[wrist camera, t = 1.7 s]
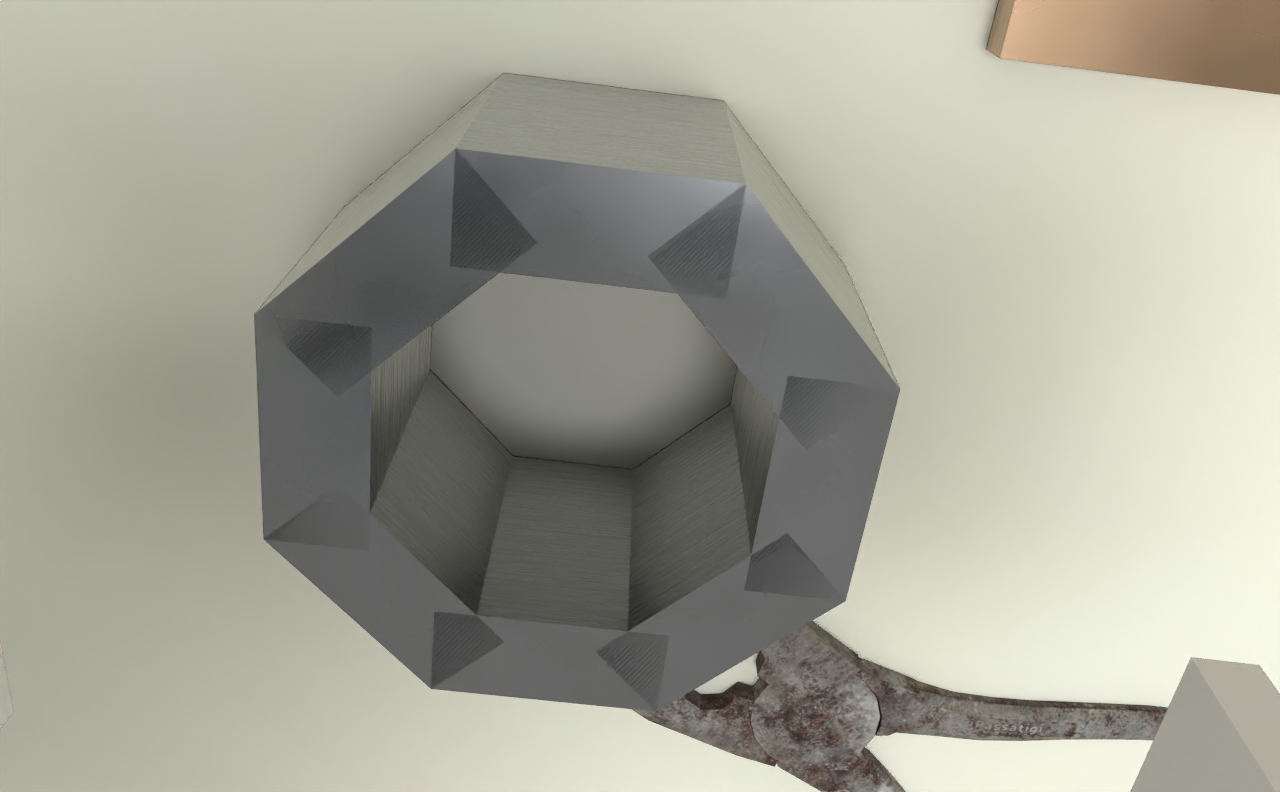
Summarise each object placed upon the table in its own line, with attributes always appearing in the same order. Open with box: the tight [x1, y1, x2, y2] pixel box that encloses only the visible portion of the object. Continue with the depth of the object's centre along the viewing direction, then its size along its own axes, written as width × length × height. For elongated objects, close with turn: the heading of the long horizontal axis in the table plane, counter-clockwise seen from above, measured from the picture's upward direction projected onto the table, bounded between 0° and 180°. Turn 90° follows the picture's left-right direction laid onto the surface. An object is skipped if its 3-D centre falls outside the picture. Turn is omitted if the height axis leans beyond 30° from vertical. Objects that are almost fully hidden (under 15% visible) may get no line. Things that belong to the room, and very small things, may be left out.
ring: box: [254, 73, 900, 711], centre depth 18 cm, size 9×9×5 cm
